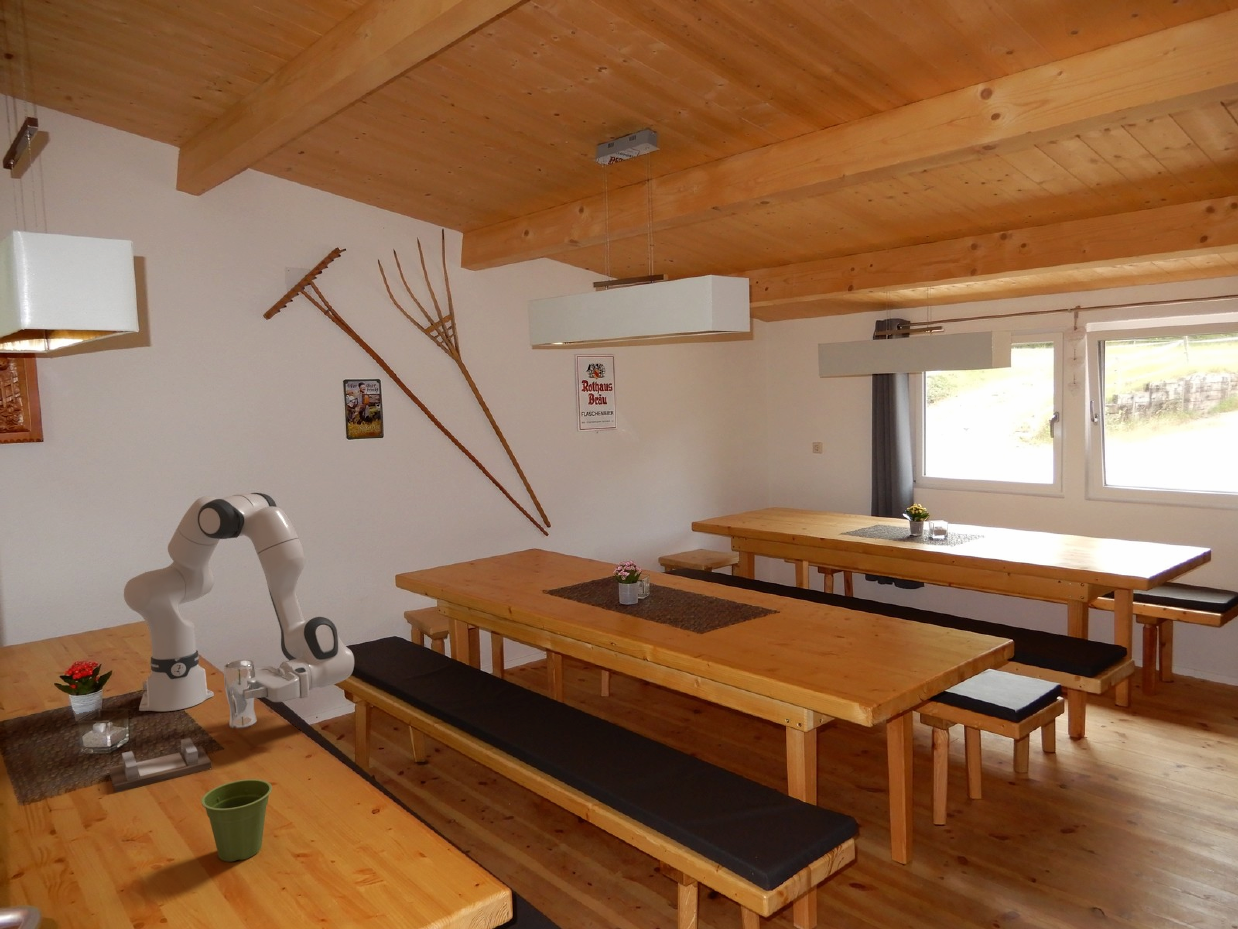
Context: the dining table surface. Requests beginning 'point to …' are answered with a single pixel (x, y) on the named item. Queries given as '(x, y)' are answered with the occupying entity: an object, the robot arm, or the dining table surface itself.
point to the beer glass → (240, 692)
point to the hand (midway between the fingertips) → (237, 691)
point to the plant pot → (237, 817)
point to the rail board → (158, 767)
